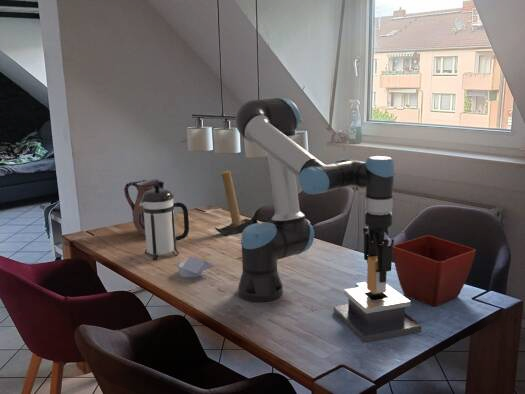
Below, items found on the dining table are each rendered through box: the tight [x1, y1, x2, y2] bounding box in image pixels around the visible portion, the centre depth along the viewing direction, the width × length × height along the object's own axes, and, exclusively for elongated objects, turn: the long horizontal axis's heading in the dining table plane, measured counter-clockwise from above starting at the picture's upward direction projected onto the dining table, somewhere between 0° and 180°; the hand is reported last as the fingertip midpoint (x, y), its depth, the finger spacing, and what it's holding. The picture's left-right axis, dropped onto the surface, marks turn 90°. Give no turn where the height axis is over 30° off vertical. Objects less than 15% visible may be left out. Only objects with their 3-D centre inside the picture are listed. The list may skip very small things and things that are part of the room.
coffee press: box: [139, 184, 190, 261], centre depth 216 cm, size 17×16×30 cm
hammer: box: [214, 170, 259, 237], centre depth 242 cm, size 20×5×30 cm, turn 121°
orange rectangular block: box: [366, 256, 388, 294], centre depth 153 cm, size 4×4×10 cm
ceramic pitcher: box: [123, 178, 165, 236], centre depth 245 cm, size 18×21×25 cm
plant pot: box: [392, 235, 477, 307], centre depth 171 cm, size 19×19×17 cm
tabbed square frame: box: [333, 281, 422, 343], centre depth 156 cm, size 18×20×8 cm
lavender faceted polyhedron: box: [178, 255, 215, 278], centre depth 196 cm, size 9×7×13 cm
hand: (376, 288), depth 154 cm, fingers closed on orange rectangular block, 4 cm apart
